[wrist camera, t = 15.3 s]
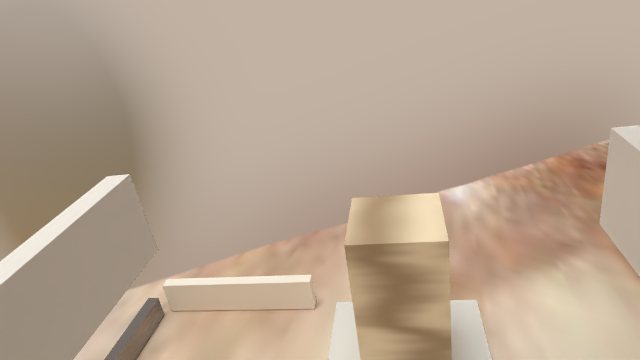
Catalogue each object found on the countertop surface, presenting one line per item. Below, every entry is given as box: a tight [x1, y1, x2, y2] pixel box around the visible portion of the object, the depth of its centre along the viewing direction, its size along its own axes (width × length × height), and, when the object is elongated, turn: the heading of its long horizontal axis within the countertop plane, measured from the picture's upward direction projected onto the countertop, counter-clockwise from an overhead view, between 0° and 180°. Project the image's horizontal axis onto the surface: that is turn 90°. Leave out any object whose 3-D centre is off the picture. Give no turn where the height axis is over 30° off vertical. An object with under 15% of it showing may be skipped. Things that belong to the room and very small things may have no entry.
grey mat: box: [328, 300, 492, 360], centre depth 34 cm, size 12×12×1 cm
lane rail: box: [163, 275, 316, 311], centre depth 42 cm, size 14×1×3 cm, turn 82°
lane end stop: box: [105, 298, 164, 360], centre depth 38 cm, size 1×10×2 cm, turn 172°
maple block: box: [344, 193, 452, 360], centre depth 31 cm, size 6×6×12 cm
